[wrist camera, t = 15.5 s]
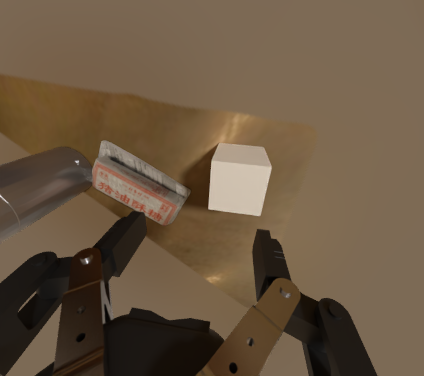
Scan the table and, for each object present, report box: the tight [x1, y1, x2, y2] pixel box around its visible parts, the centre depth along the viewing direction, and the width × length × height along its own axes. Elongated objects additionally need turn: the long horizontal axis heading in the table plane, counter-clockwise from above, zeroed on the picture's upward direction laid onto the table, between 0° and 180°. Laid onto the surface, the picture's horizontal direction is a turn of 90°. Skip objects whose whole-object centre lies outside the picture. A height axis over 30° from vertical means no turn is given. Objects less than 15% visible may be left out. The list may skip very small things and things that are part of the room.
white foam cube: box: [208, 143, 272, 216], centre depth 27 cm, size 7×7×9 cm
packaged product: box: [92, 141, 191, 226], centre depth 34 cm, size 18×5×10 cm
